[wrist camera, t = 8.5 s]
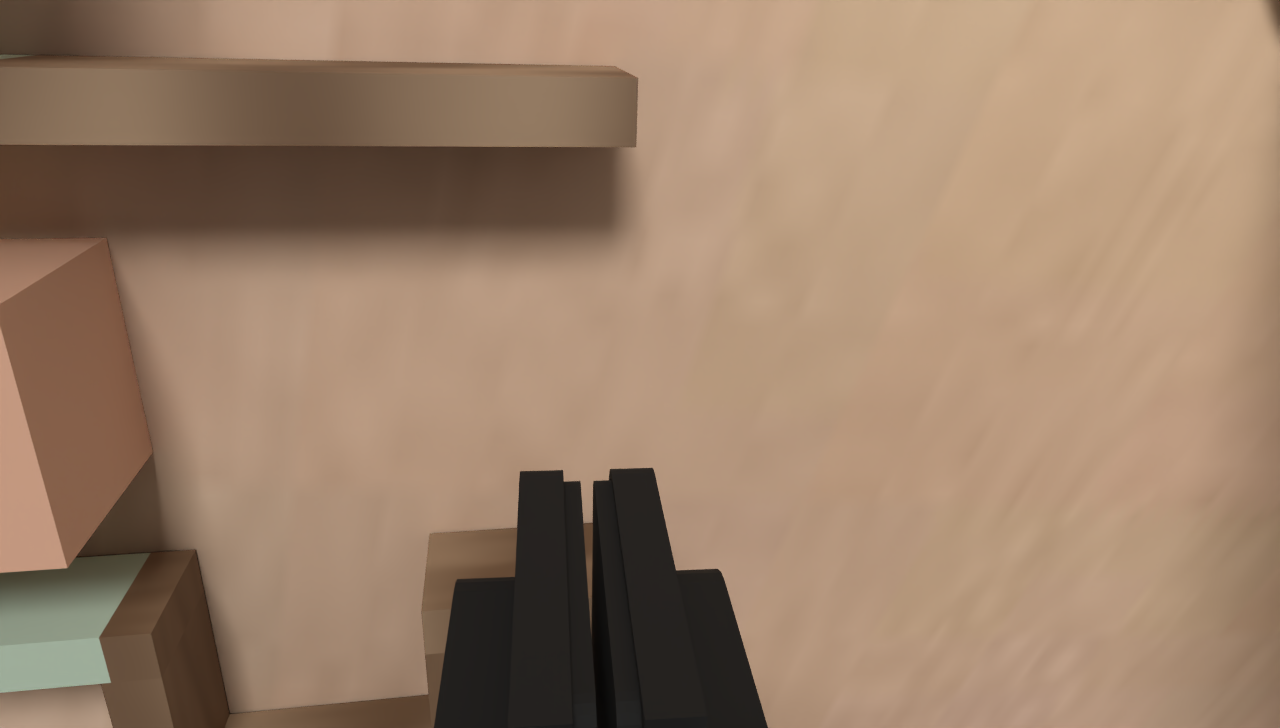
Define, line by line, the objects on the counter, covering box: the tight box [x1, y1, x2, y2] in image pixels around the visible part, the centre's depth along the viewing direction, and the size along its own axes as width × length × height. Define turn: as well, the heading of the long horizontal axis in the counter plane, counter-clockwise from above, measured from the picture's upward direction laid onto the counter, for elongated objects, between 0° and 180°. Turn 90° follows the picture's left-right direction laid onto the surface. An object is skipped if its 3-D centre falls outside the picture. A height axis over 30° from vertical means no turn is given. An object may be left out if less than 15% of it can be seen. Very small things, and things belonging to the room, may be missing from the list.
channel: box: [0, 55, 638, 728], centre depth 19 cm, size 11×18×3 cm, turn 178°
